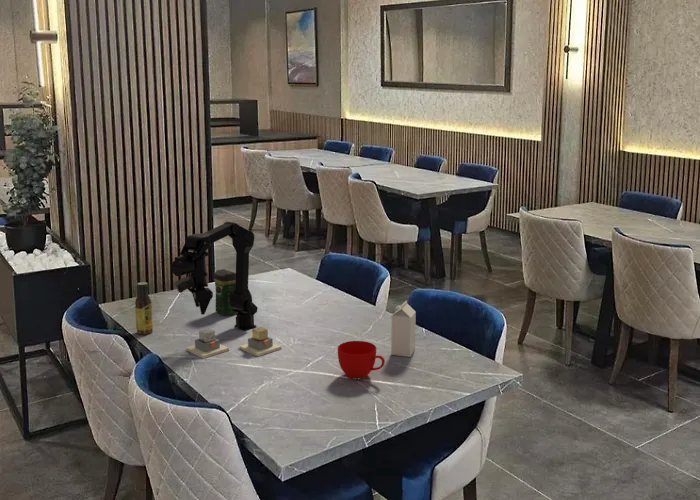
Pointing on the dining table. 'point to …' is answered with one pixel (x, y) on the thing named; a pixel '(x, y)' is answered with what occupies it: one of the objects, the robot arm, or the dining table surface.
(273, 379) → the dining table surface
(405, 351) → the milk carton
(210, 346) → the stand
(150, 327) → the sauce bottle
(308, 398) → the dining table surface
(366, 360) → the ceramic cup
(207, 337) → the column
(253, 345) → the stand
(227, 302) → the coffee jar
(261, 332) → the column
